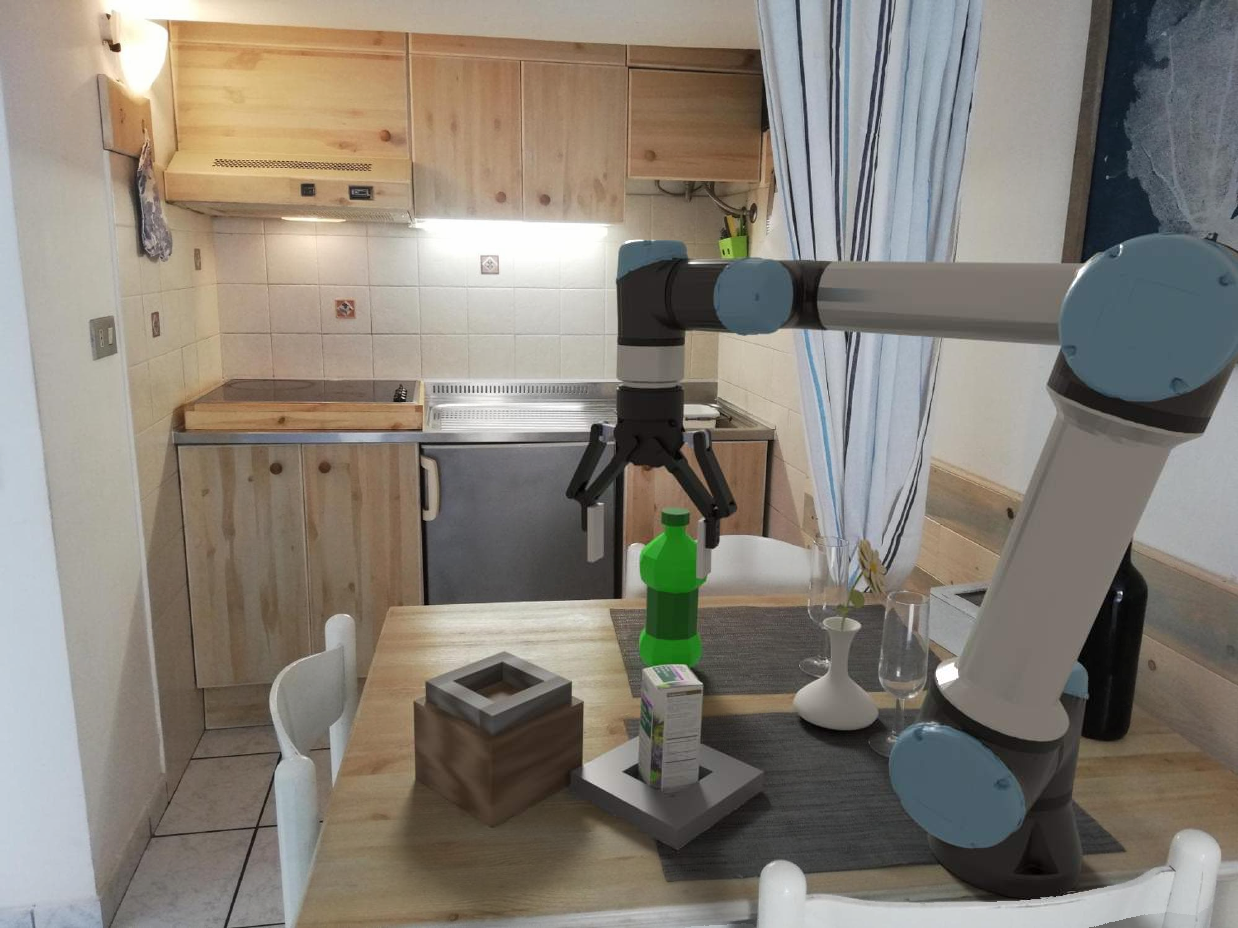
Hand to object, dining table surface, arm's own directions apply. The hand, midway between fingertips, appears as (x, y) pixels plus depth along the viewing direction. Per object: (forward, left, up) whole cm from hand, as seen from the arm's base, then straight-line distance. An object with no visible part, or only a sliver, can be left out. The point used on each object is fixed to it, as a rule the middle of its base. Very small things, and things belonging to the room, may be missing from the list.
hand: (648, 567), depth 108 cm
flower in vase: (-10, -30, -26) cm, 41 cm away
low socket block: (-5, +1, -26) cm, 27 cm away
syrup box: (-5, +1, -26) cm, 27 cm away
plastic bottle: (+16, -25, -26) cm, 40 cm away
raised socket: (+11, +13, -26) cm, 31 cm away
